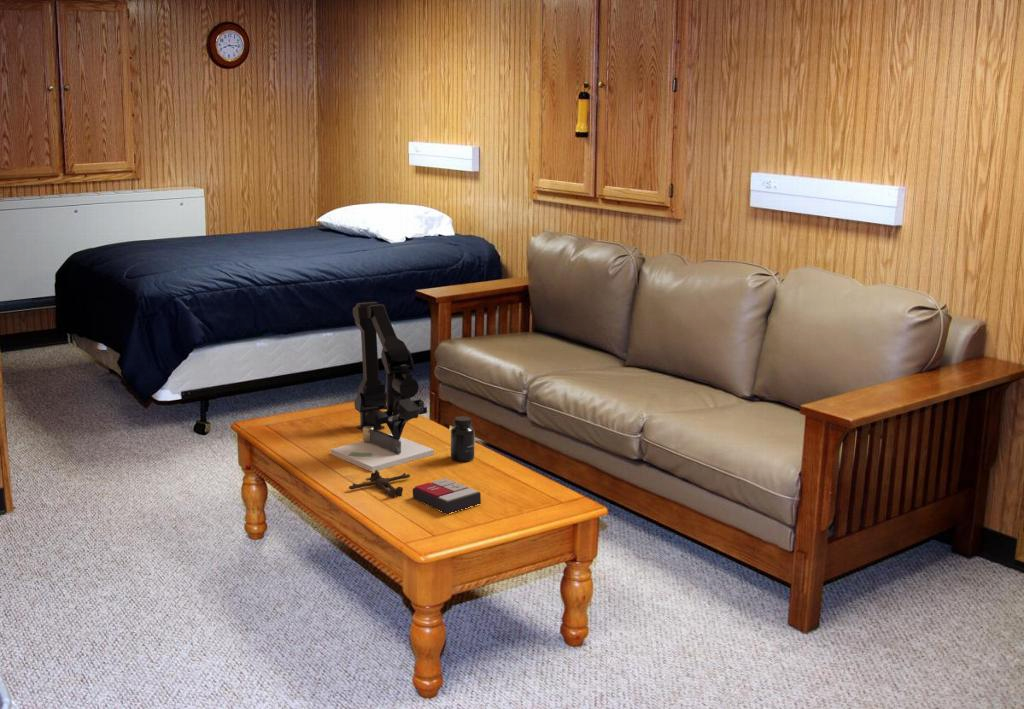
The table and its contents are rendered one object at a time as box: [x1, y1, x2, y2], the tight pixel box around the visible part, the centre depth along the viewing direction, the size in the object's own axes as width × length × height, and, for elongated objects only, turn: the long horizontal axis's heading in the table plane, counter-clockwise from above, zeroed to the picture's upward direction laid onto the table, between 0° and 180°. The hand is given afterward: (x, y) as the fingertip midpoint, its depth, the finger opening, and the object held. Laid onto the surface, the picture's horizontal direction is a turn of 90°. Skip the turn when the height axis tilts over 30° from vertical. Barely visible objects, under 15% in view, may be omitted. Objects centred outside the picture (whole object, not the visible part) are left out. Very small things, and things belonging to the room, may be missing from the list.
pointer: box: [362, 426, 401, 454], centre depth 313 cm, size 16×3×4 cm, turn 44°
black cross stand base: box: [348, 470, 411, 499], centre depth 286 cm, size 18×4×14 cm
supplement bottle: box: [450, 416, 476, 463], centre depth 308 cm, size 7×7×12 cm
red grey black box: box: [412, 477, 482, 515], centre depth 277 cm, size 11×4×15 cm
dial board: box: [330, 433, 435, 473], centre depth 312 cm, size 20×22×2 cm
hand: (397, 440), depth 315 cm, fingers closed
